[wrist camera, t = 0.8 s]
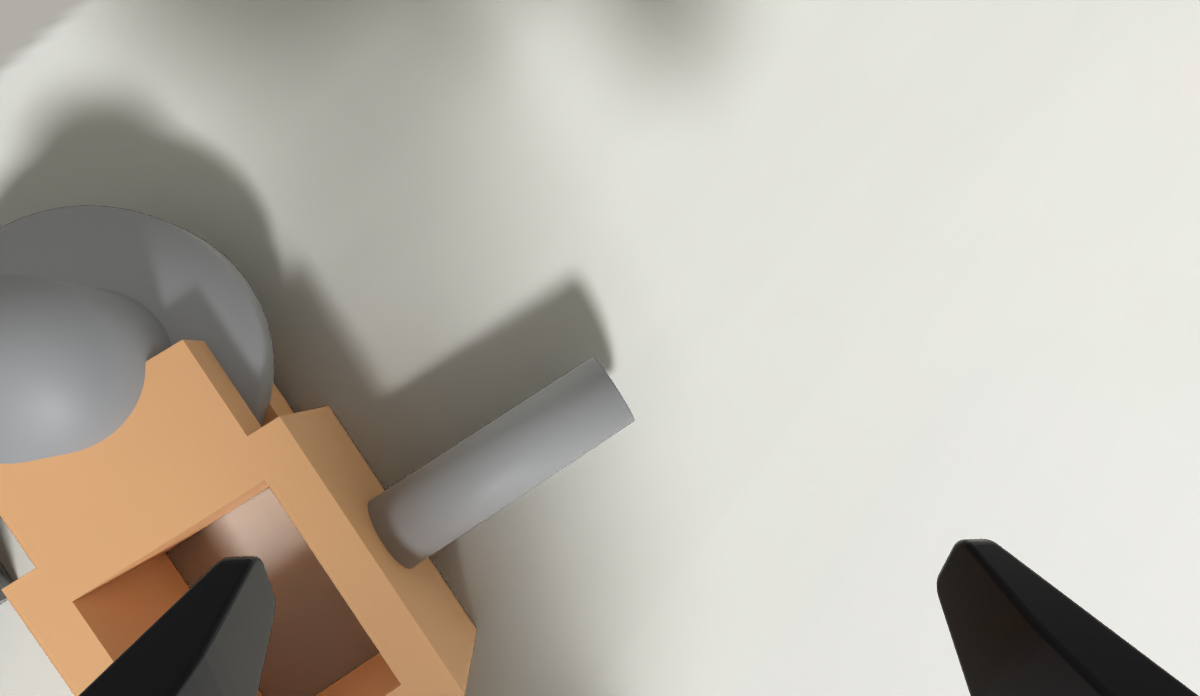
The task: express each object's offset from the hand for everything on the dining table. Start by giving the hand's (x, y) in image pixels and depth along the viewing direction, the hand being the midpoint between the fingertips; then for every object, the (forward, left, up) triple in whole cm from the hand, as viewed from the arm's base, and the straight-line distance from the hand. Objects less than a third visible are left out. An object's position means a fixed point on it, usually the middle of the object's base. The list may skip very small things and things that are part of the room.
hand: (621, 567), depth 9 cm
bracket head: (+3, +7, -14) cm, 16 cm away
